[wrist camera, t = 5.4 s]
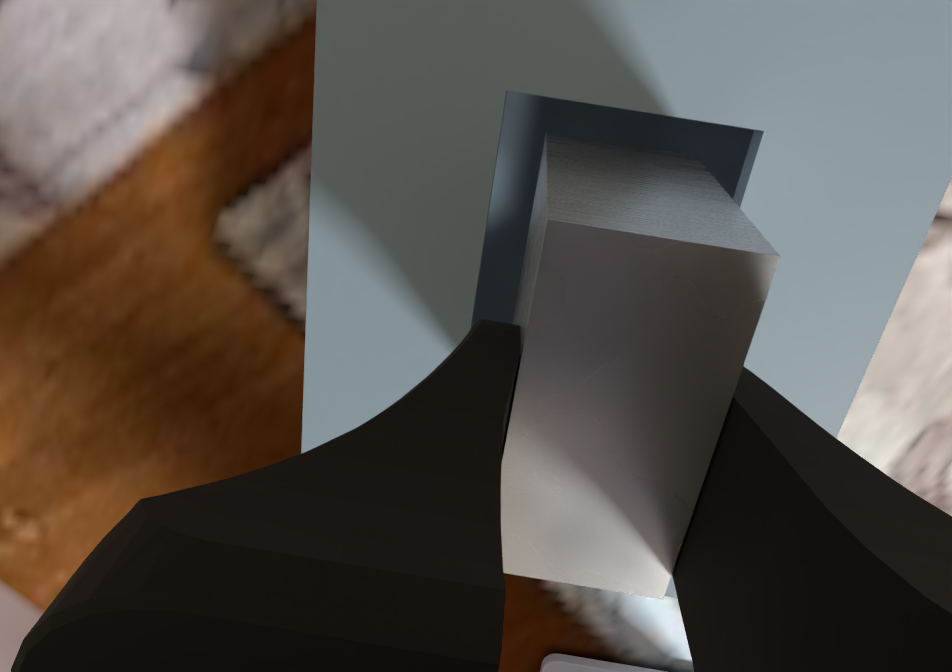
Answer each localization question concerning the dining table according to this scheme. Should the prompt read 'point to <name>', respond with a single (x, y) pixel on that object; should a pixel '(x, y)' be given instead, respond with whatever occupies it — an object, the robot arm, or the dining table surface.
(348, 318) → the grey tissue box
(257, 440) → the dining table surface
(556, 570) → the white block
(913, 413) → the dining table surface
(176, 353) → the dining table surface
